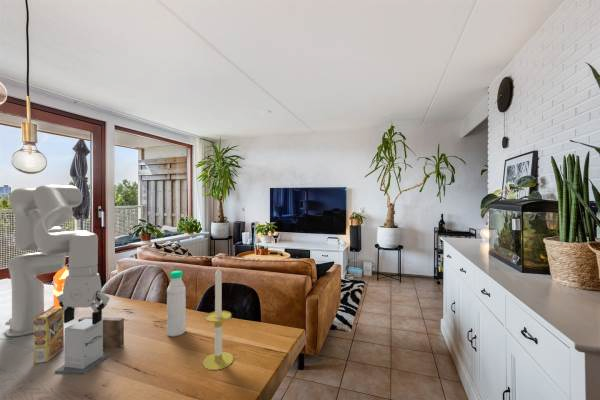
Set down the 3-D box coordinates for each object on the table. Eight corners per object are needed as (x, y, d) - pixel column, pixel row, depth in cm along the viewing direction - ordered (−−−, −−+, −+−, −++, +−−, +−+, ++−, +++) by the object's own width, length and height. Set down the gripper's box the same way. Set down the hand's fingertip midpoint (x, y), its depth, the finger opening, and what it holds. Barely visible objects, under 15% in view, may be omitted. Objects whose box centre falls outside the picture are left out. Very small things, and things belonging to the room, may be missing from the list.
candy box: (48, 362, 91) (47, 316, 91) (32, 363, 90) (32, 317, 90) (64, 348, 99) (64, 306, 99) (50, 349, 98) (50, 307, 98)
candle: (222, 349, 98) (222, 260, 98) (239, 360, 92) (239, 264, 92) (196, 362, 91) (196, 265, 90) (213, 374, 84) (213, 270, 84)
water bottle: (189, 330, 112) (189, 270, 112) (175, 338, 106) (175, 274, 106) (177, 327, 115) (177, 268, 115) (162, 334, 109) (162, 272, 109)
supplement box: (83, 369, 86) (83, 329, 86) (63, 367, 87) (63, 327, 87) (103, 356, 93) (103, 319, 93) (85, 354, 94) (85, 317, 94)
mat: (54, 372, 85) (54, 370, 85) (82, 354, 95) (82, 352, 95) (85, 373, 84) (85, 372, 84) (109, 355, 94) (109, 353, 94)
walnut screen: (78, 346, 100) (78, 319, 100) (83, 343, 102) (83, 316, 102) (119, 347, 99) (119, 320, 99) (123, 344, 101) (123, 318, 101)
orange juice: (72, 300, 145) (72, 263, 145) (77, 304, 140) (77, 265, 140) (52, 305, 139) (52, 266, 139) (57, 309, 134) (57, 269, 134)
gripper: (47, 272, 86) (47, 326, 87) (99, 274, 86) (98, 328, 86) (68, 266, 94) (68, 315, 94) (116, 268, 93) (116, 318, 93)
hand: (83, 321), depth 90 cm, fingers open, 9 cm apart
